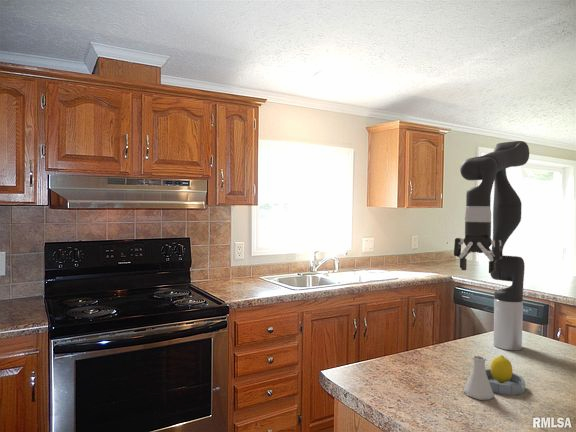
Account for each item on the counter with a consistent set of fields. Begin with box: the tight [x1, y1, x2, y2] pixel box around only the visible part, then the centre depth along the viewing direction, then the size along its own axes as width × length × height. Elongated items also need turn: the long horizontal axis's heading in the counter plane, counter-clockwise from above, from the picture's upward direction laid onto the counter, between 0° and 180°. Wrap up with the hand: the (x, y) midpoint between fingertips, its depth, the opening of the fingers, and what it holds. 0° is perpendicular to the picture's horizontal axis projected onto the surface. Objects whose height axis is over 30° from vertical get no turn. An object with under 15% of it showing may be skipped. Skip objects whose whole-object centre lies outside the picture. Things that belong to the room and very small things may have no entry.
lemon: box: [489, 355, 514, 384], centre depth 115 cm, size 6×6×8 cm
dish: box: [485, 368, 526, 396], centre depth 115 cm, size 12×12×2 cm
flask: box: [462, 355, 495, 401], centre depth 109 cm, size 7×7×10 cm
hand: (477, 271), depth 130 cm, fingers open, 8 cm apart
